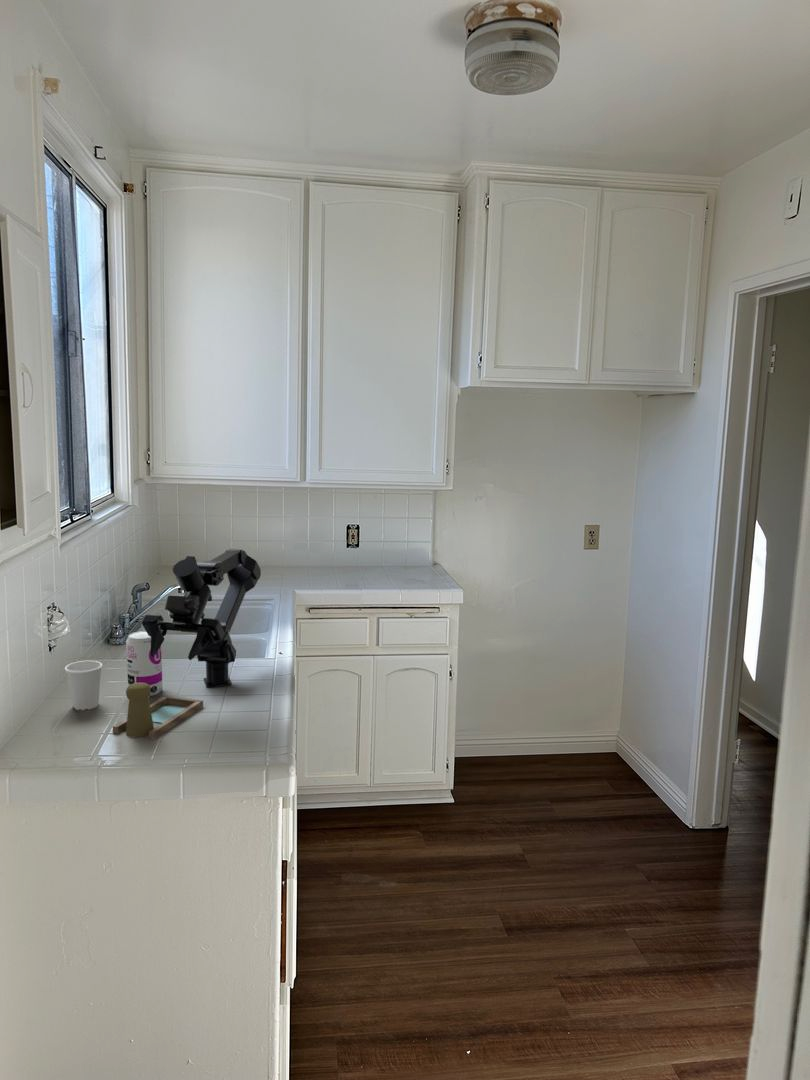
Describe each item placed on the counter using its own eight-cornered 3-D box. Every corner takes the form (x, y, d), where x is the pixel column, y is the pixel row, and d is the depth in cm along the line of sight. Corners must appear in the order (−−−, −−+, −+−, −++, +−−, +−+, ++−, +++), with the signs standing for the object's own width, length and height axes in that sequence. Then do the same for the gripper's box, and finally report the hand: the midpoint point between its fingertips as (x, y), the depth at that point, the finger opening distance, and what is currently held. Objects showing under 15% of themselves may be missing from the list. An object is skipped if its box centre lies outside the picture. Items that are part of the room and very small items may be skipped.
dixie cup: (90, 697, 198) (88, 658, 196) (111, 704, 194) (109, 664, 192) (59, 707, 191) (57, 667, 190) (81, 714, 187) (78, 673, 185)
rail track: (165, 701, 196) (165, 695, 196) (203, 706, 193) (202, 700, 193) (113, 732, 177) (112, 726, 177) (153, 738, 174) (153, 732, 174)
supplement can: (168, 688, 205) (166, 631, 202) (150, 699, 197) (148, 640, 194) (141, 685, 207) (138, 628, 204) (121, 695, 199) (119, 637, 197)
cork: (144, 724, 182) (142, 677, 180) (159, 731, 178) (158, 683, 176) (120, 732, 177) (118, 684, 175) (135, 739, 173) (133, 691, 172)
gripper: (146, 580, 189) (120, 633, 178) (220, 584, 186) (198, 639, 175) (161, 609, 197) (137, 662, 186) (233, 614, 194) (212, 668, 183)
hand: (170, 657), depth 183 cm, fingers open, 9 cm apart
